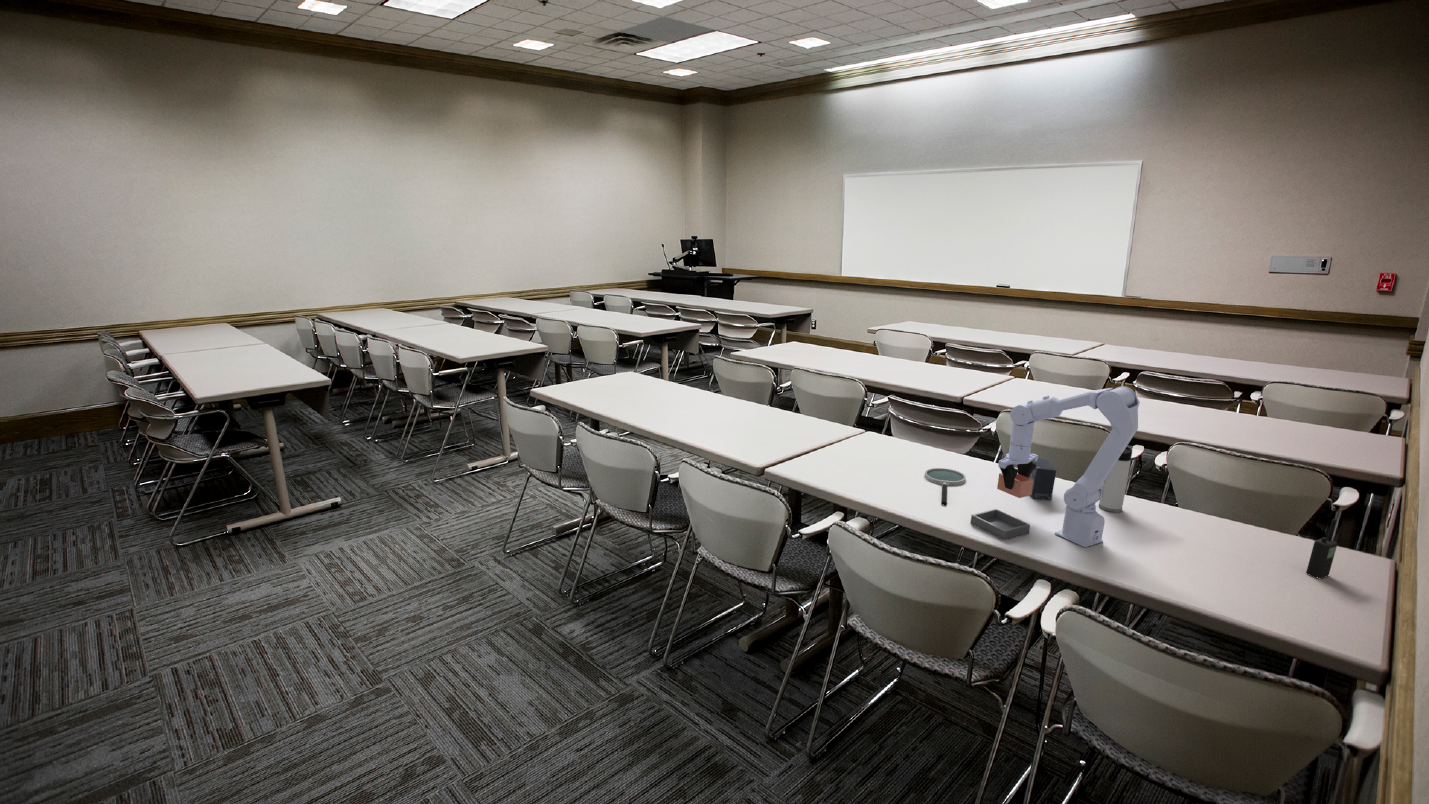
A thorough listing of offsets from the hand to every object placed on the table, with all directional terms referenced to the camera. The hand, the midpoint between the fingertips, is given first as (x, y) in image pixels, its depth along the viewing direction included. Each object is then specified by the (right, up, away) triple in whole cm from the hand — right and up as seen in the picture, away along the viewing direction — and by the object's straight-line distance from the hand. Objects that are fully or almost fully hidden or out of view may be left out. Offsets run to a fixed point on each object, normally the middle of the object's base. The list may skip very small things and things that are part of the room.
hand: (1014, 486), depth 201 cm
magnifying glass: (-13, -4, +23) cm, 27 cm away
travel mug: (+33, -8, +7) cm, 35 cm away
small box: (+16, -5, +18) cm, 25 cm away
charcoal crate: (-8, -11, -7) cm, 16 cm away
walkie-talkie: (+63, -18, -31) cm, 72 cm away
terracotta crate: (0, -2, +1) cm, 2 cm away
